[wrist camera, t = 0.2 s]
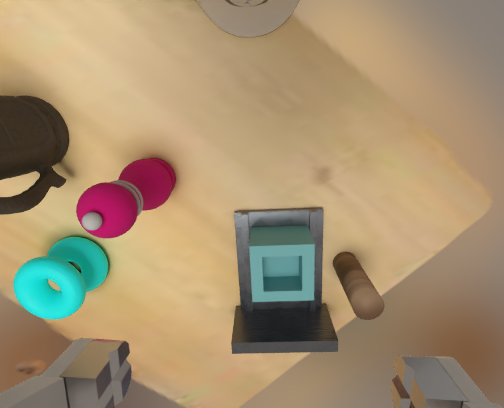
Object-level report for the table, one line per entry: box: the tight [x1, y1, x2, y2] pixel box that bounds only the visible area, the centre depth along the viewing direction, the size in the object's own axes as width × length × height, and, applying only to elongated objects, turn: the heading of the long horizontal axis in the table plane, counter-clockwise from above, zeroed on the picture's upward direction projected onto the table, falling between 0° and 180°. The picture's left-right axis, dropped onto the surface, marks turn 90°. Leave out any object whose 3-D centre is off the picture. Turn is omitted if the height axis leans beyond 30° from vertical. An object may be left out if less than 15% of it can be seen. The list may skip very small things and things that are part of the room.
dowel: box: [333, 252, 384, 320], centre depth 46 cm, size 4×4×12 cm
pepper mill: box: [76, 158, 176, 238], centre depth 38 cm, size 7×7×20 cm
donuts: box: [14, 237, 108, 319], centre depth 48 cm, size 10×10×10 cm
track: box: [231, 208, 338, 354], centre depth 48 cm, size 20×16×9 cm
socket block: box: [249, 225, 315, 302], centre depth 47 cm, size 9×9×7 cm
